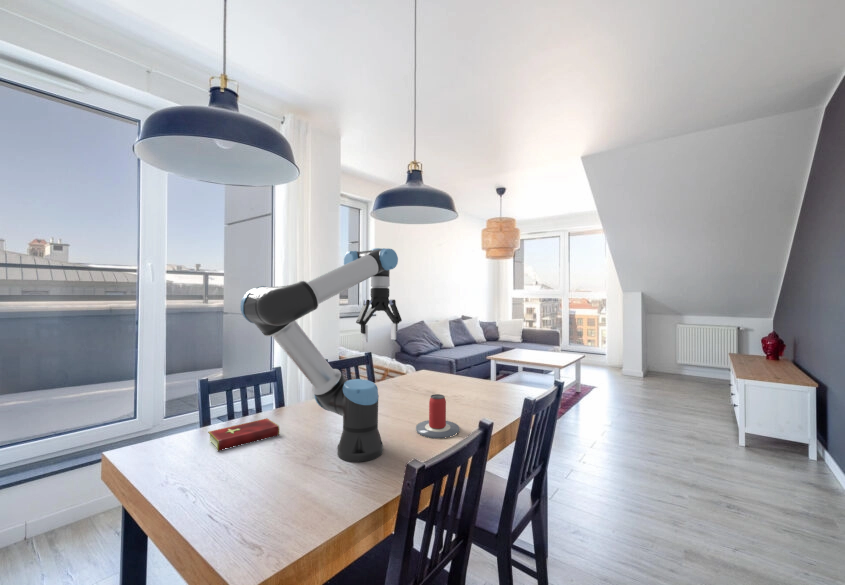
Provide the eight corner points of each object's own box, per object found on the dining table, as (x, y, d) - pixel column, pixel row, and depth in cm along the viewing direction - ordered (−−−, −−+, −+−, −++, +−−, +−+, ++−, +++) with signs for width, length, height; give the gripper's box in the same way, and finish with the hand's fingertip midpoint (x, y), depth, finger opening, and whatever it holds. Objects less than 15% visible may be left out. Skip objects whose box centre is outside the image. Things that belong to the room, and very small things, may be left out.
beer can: (426, 424, 147) (426, 394, 147) (441, 422, 149) (441, 393, 149) (432, 430, 141) (433, 399, 141) (448, 428, 143) (448, 397, 143)
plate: (442, 442, 133) (442, 438, 133) (407, 431, 144) (407, 427, 144) (467, 429, 146) (467, 425, 146) (434, 419, 157) (434, 416, 157)
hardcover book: (279, 436, 139) (279, 425, 139) (217, 452, 125) (217, 440, 125) (267, 428, 148) (267, 417, 148) (208, 442, 133) (208, 430, 133)
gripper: (399, 288, 159) (399, 337, 159) (347, 287, 143) (347, 342, 143) (410, 288, 153) (409, 339, 153) (357, 286, 137) (357, 344, 137)
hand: (379, 340), depth 148 cm, fingers open, 13 cm apart
